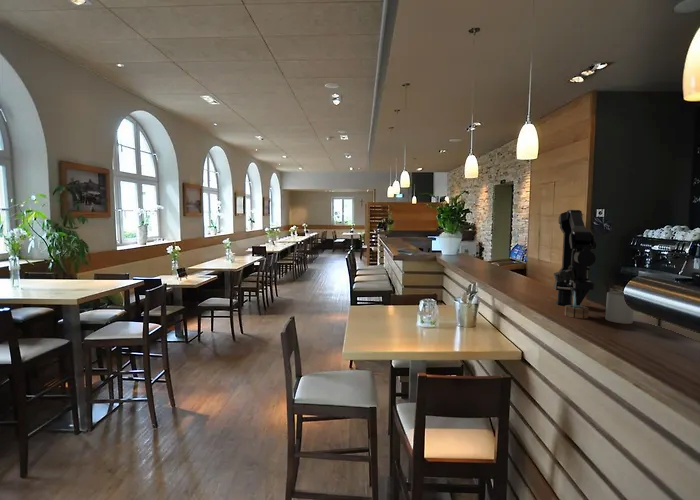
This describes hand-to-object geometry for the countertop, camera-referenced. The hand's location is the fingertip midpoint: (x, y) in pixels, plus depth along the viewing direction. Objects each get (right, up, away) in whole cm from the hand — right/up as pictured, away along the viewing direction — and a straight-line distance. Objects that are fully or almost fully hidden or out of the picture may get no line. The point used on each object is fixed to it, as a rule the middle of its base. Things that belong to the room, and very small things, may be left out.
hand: (576, 304), depth 155 cm
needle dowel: (0, -4, 0) cm, 4 cm away
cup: (+12, -6, -5) cm, 15 cm away
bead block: (0, -5, 0) cm, 4 cm away
